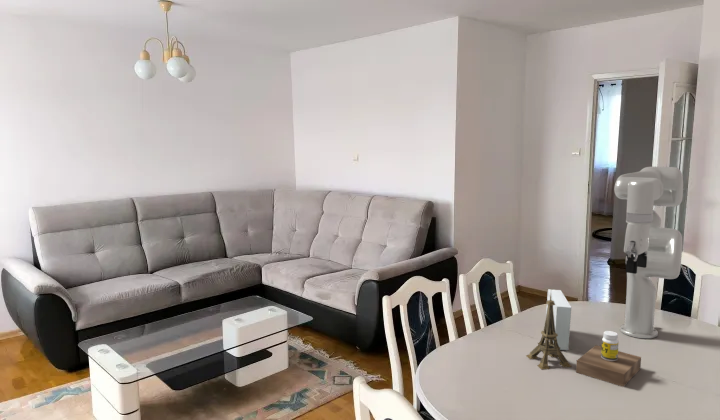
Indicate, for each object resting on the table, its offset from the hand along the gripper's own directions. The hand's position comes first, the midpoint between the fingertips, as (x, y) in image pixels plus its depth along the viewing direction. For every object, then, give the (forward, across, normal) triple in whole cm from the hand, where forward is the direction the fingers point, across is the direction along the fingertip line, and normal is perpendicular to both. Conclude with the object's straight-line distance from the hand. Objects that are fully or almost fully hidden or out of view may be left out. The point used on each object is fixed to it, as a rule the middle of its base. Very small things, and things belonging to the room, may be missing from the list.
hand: (636, 269), depth 168 cm
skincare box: (+31, +1, -25) cm, 40 cm away
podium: (+30, +15, -2) cm, 34 cm away
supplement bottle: (+26, +15, -2) cm, 30 cm away
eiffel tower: (+31, +21, -19) cm, 42 cm away
